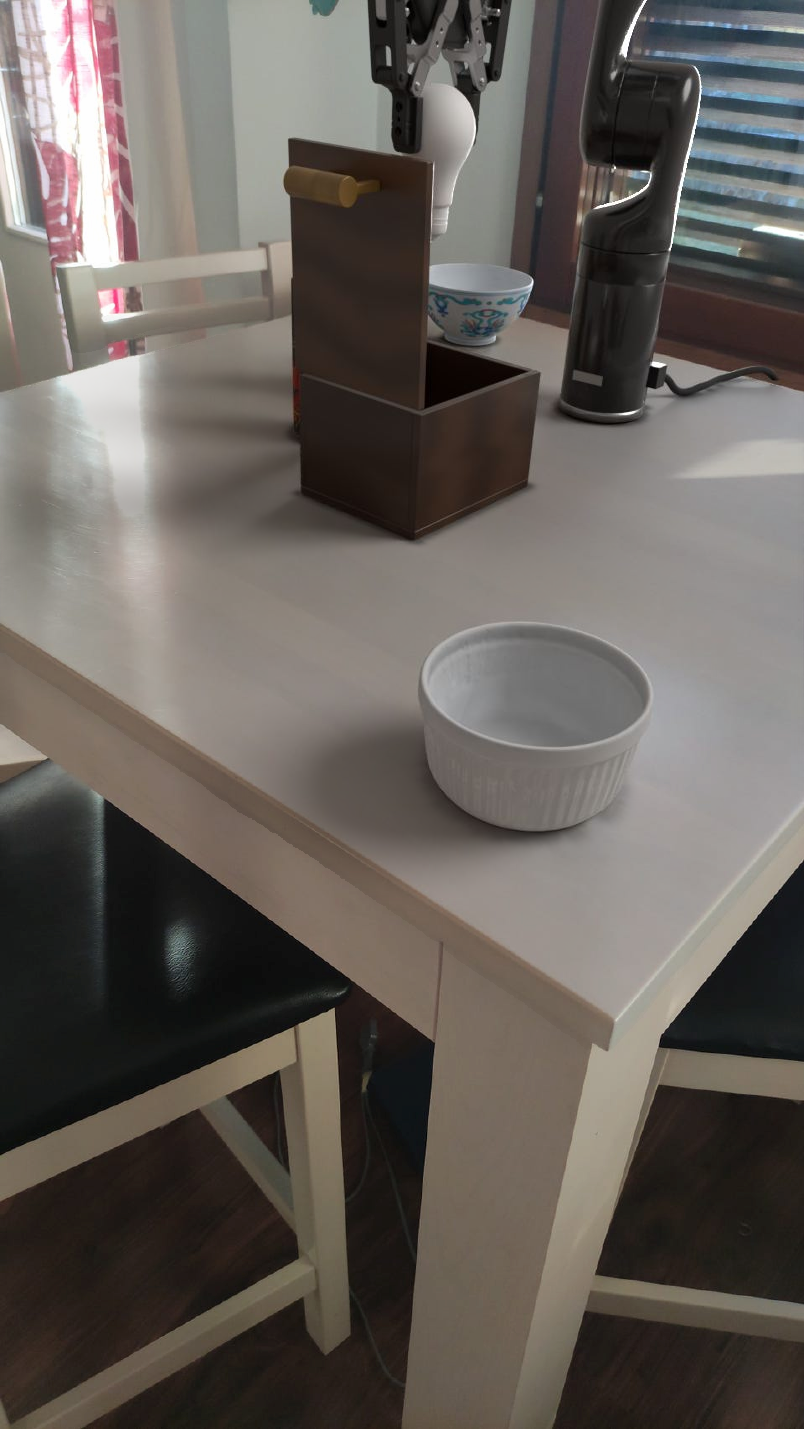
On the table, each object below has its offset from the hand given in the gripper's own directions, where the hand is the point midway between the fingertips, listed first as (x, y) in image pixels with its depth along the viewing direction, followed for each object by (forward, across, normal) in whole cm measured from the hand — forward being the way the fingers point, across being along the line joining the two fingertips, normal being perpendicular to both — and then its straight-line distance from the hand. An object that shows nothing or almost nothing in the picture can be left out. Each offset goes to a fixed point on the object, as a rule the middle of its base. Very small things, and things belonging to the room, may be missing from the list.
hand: (435, 148), depth 82 cm
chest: (+28, 0, 0) cm, 28 cm away
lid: (+8, -8, 0) cm, 12 cm away
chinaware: (+28, +43, +27) cm, 58 cm away
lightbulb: (+7, 0, 0) cm, 7 cm away
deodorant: (+28, +4, +16) cm, 33 cm away
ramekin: (+28, -28, -32) cm, 51 cm away
